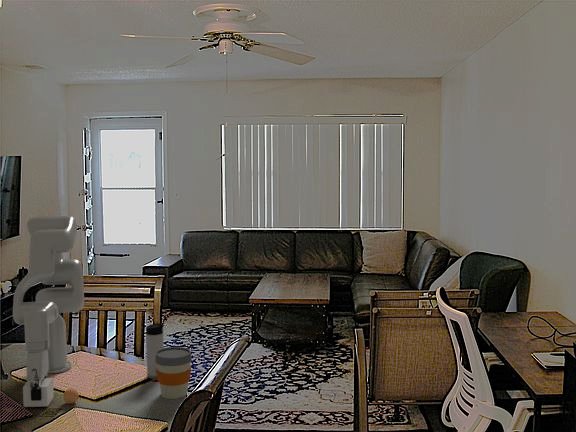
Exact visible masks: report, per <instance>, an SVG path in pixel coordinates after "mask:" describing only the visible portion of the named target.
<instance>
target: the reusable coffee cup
mask: <svg viewBox="0 0 576 432" xmlns="http://www.w3.org/2000/svg"><path fill="white" fill-rule="evenodd" d="M192 360H193V358H192V351H191V349H189V348H186V347H183V346H172V347H171V346H169V347H164V348H163V349H160V350H158V351H157V352H156V358H155V362H156V364H157V368H156V372H157V378H158V379H157V381H158V383H159V388H160V389H159V390H160V395H161V398H164V399H168V400H169V399H171V400H176V399H181V398H183V397H186V396H187V395H188V389H189V382H190V380H191V373H192V366H191V364H192Z"/></svg>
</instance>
